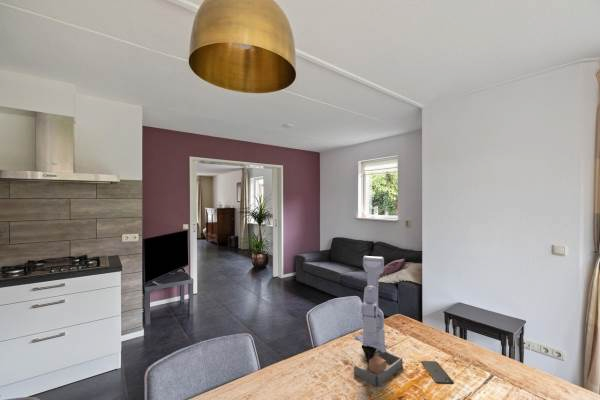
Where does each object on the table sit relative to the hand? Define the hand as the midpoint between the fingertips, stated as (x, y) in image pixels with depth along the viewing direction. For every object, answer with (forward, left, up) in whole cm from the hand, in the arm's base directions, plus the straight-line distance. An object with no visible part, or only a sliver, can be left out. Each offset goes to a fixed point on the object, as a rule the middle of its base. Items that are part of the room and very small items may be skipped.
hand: (369, 362), depth 117 cm
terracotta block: (0, +4, -1) cm, 4 cm away
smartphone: (-17, +21, -2) cm, 27 cm away
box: (0, +4, -1) cm, 5 cm away
